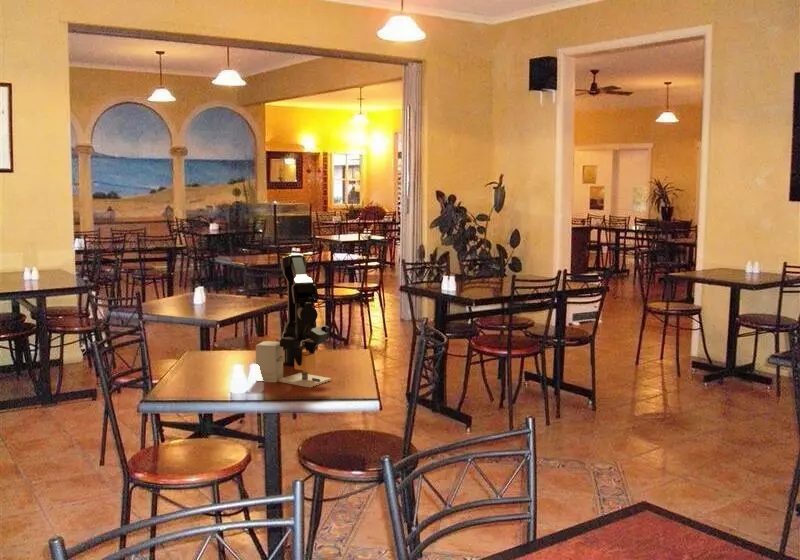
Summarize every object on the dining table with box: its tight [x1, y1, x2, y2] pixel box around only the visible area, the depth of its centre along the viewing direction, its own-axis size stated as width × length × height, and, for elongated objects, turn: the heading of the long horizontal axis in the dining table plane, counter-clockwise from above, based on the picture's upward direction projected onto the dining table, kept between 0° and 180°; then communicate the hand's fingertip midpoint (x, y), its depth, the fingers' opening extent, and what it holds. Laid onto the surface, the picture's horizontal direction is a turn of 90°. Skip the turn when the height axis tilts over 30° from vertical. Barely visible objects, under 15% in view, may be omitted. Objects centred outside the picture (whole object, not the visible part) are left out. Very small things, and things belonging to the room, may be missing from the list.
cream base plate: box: [277, 370, 332, 388], centre depth 279 cm, size 14×11×5 cm
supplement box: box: [255, 340, 284, 383], centre depth 280 cm, size 7×7×13 cm
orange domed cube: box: [293, 349, 316, 372], centre depth 278 cm, size 5×5×6 cm
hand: (304, 364), depth 278 cm, fingers closed on orange domed cube, 5 cm apart
